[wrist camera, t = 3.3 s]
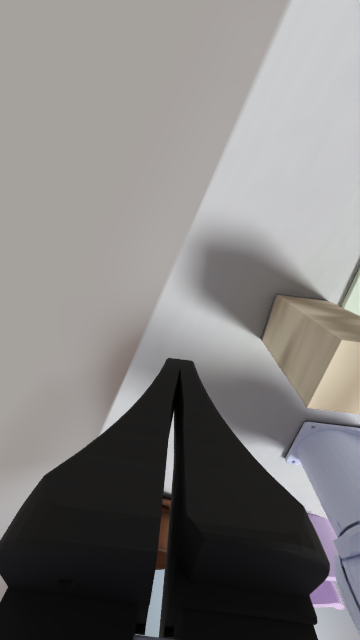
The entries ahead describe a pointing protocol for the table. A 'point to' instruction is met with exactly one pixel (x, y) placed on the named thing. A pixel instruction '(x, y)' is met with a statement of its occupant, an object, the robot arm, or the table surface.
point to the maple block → (316, 351)
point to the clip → (327, 590)
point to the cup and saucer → (163, 535)
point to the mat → (353, 296)
